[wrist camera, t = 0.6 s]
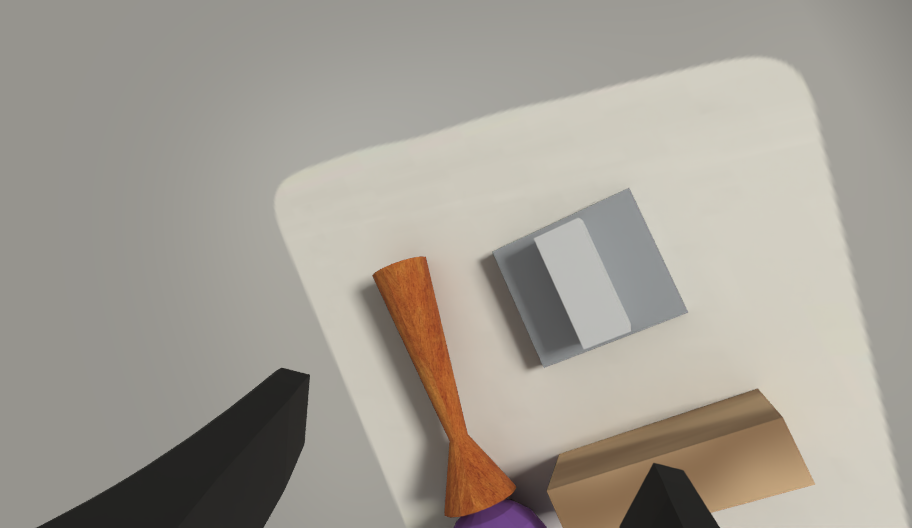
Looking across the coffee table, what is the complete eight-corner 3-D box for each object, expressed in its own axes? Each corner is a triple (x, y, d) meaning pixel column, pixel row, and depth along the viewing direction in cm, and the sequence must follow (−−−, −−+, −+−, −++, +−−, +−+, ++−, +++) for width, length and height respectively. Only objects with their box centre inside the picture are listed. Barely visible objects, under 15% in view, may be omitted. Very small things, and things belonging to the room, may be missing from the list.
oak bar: (783, 443, 28) (815, 484, 23) (581, 503, 31) (572, 550, 26) (757, 387, 28) (782, 417, 23) (559, 453, 31) (546, 490, 26)
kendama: (436, 241, 29) (577, 632, 26) (454, 255, 35) (571, 574, 32) (334, 281, 30) (459, 666, 26) (369, 288, 35) (475, 604, 32)
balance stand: (686, 309, 29) (693, 319, 25) (546, 363, 31) (536, 378, 28) (629, 190, 29) (628, 182, 26) (497, 251, 32) (480, 252, 28)
